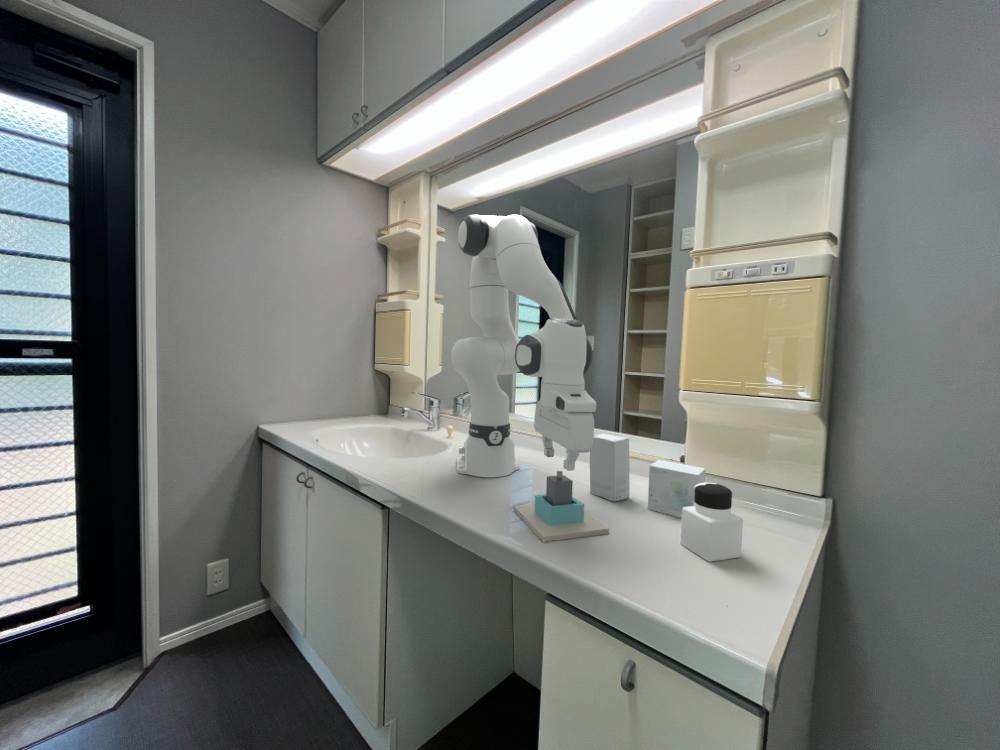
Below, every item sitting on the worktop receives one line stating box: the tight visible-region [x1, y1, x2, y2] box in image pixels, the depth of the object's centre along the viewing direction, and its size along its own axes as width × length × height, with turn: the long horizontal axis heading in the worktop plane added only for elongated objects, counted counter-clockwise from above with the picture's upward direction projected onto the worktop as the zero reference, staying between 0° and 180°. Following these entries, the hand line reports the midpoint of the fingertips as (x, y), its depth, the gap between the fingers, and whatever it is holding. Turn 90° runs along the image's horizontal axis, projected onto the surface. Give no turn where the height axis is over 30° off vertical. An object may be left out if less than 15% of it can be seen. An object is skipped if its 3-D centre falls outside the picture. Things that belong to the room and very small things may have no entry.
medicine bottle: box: [680, 482, 744, 563], centre depth 75 cm, size 7×7×12 cm
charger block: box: [545, 470, 573, 506], centre depth 86 cm, size 4×4×10 cm
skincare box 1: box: [589, 433, 631, 503], centre depth 102 cm, size 8×6×15 cm
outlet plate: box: [513, 493, 610, 542], centre depth 87 cm, size 16×14×4 cm
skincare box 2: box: [647, 459, 706, 519], centre depth 93 cm, size 10×6×10 cm, turn 50°
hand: (558, 462), depth 86 cm, fingers open, 8 cm apart
